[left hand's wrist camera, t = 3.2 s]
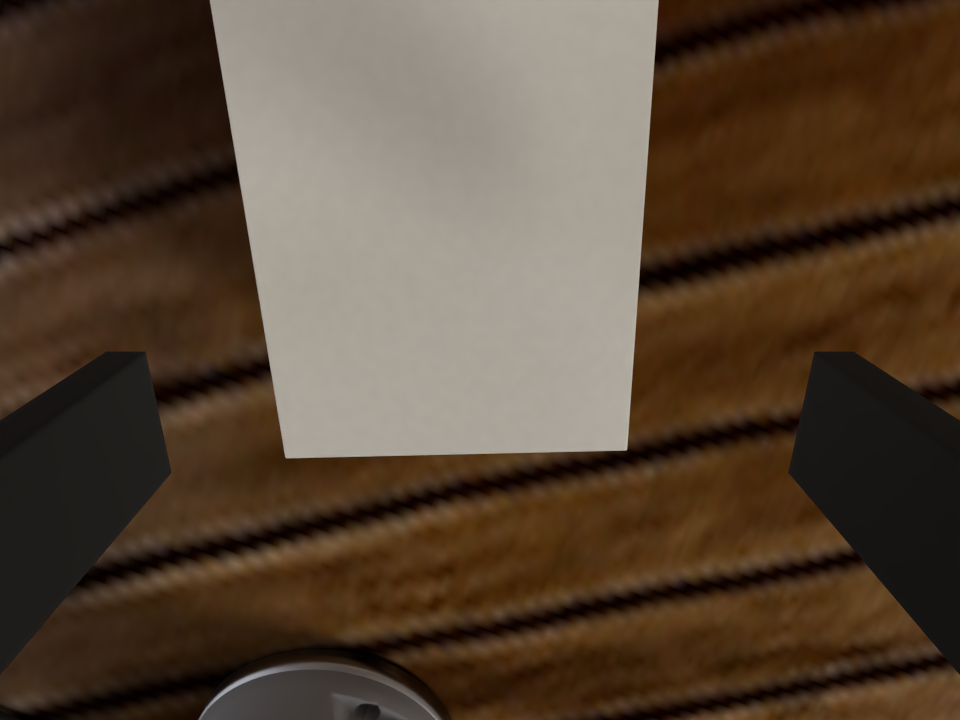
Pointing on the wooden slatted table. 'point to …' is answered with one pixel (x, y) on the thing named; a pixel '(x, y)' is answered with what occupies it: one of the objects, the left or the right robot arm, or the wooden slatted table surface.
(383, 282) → the cabinet
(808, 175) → the wooden slatted table surface
